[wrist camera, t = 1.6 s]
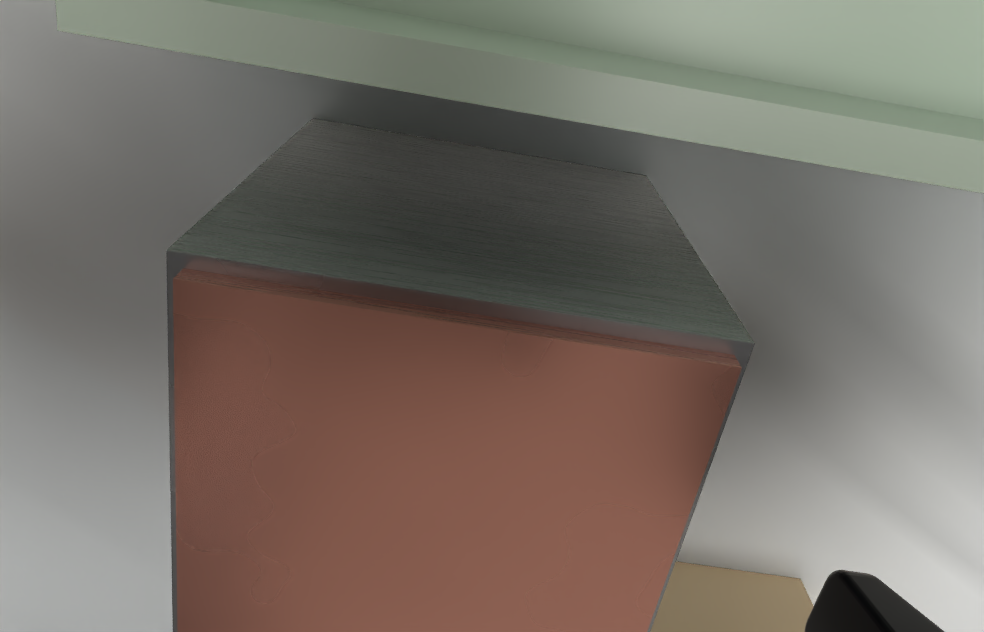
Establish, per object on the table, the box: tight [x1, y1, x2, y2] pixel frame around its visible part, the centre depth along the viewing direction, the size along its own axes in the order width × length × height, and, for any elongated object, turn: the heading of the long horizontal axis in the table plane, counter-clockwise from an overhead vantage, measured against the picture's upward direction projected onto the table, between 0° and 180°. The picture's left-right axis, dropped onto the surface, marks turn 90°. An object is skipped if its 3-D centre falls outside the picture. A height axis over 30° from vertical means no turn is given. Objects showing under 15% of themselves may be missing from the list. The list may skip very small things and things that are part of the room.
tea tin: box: [167, 118, 754, 632], centre depth 11 cm, size 6×6×6 cm
